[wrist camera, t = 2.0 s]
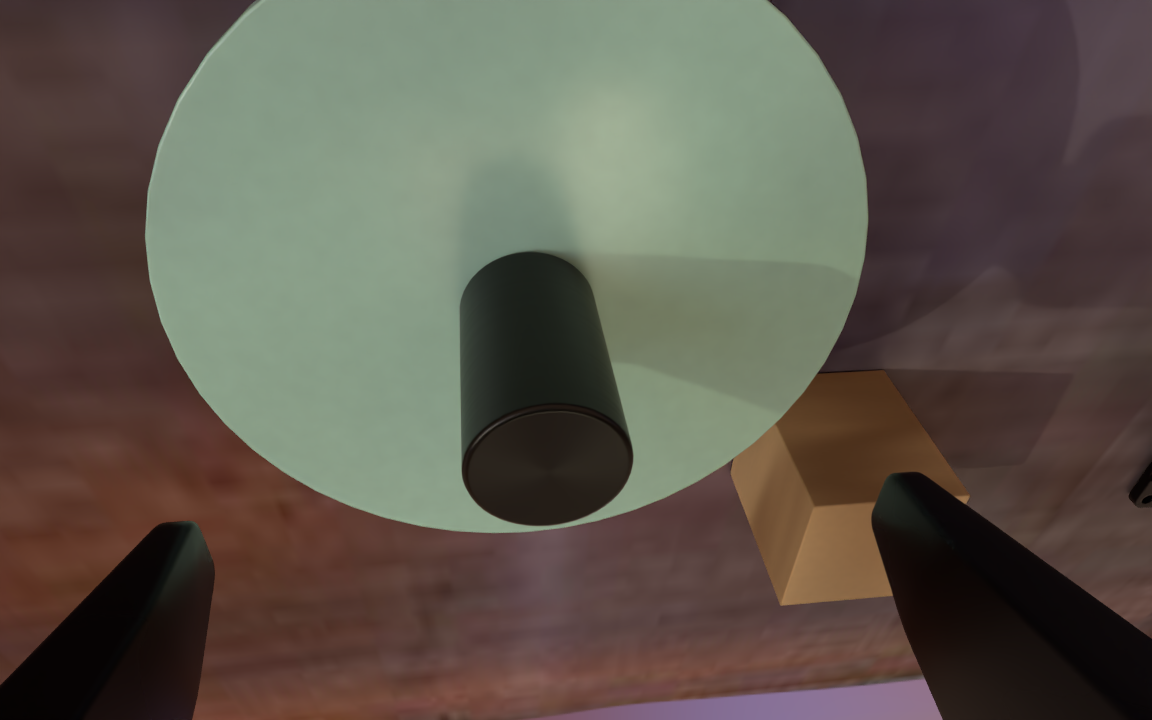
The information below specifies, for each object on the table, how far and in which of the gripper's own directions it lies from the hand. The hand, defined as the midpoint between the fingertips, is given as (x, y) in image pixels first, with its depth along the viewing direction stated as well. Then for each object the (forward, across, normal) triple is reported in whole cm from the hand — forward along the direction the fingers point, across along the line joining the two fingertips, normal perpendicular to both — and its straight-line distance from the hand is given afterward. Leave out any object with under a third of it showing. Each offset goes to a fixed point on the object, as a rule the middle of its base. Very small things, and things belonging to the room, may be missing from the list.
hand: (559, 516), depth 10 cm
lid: (+5, 0, 0) cm, 5 cm away
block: (+12, -10, +10) cm, 18 cm away
